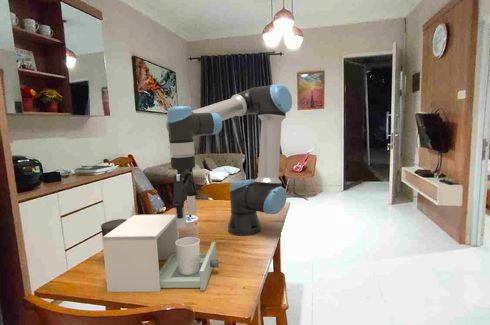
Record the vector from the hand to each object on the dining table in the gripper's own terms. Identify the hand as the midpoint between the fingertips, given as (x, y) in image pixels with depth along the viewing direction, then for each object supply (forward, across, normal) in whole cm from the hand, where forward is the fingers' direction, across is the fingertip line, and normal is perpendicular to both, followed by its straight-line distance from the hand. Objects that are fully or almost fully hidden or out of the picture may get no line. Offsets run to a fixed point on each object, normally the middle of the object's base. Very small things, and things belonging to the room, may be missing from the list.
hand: (187, 220), depth 99 cm
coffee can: (+18, -11, -30) cm, 36 cm away
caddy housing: (+18, 0, -15) cm, 23 cm away
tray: (+18, 0, 0) cm, 18 cm away
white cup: (+17, +1, 0) cm, 17 cm away
